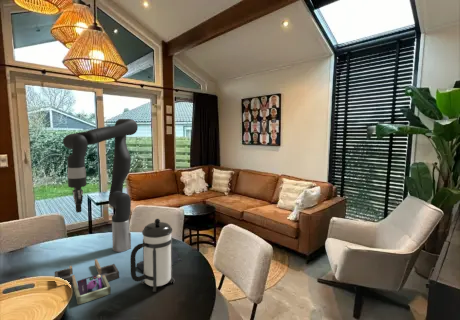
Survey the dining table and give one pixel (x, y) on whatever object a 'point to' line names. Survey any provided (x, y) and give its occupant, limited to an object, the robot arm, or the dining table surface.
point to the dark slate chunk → (174, 260)
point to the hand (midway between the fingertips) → (78, 211)
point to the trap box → (107, 275)
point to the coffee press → (155, 255)
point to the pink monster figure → (84, 286)
